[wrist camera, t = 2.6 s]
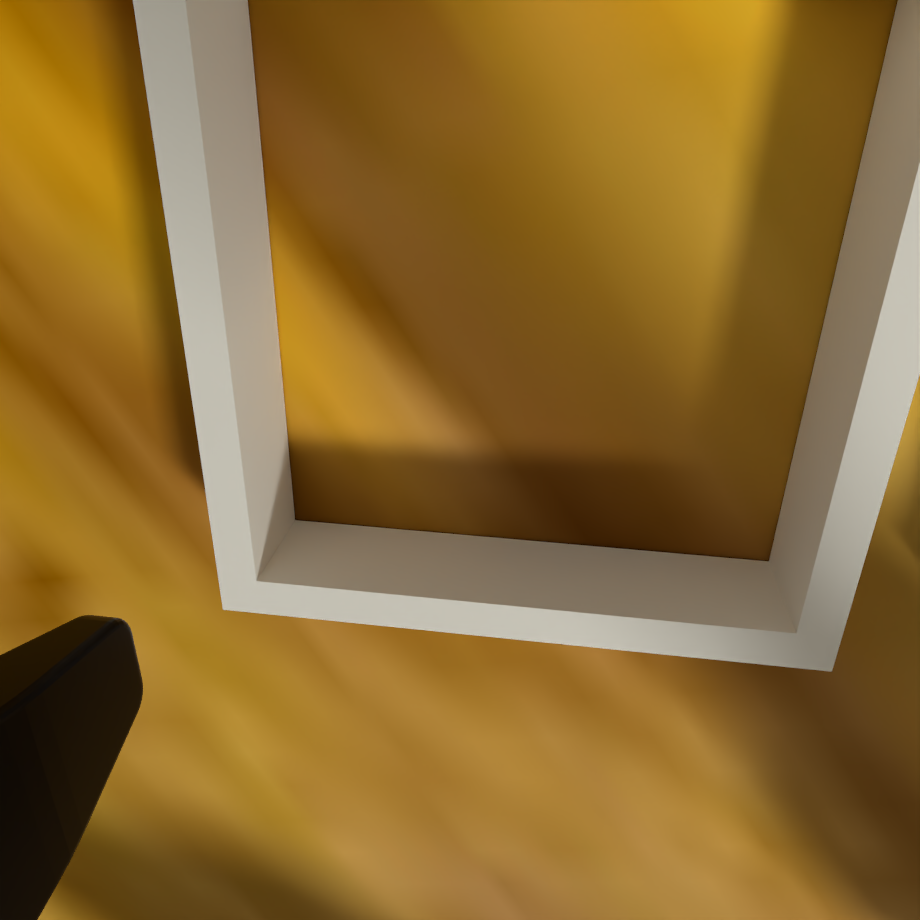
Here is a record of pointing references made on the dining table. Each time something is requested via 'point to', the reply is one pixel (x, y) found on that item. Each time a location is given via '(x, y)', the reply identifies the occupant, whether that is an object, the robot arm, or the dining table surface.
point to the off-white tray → (510, 560)
